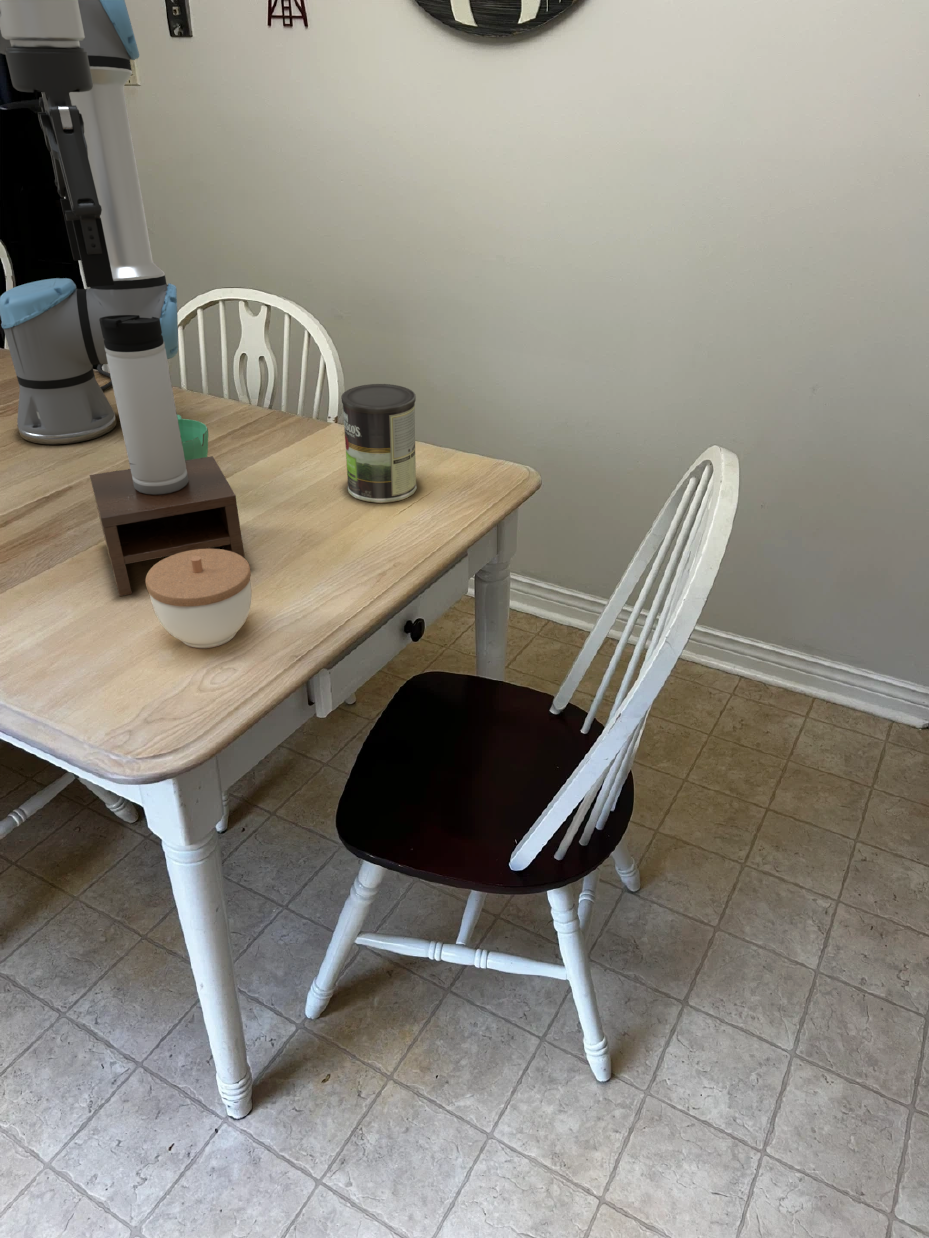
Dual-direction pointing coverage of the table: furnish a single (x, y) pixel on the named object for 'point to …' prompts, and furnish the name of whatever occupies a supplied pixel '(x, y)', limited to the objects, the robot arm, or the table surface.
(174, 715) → the table surface
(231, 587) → the trinket box
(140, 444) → the travel mug
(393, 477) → the coffee can
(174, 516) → the shelf
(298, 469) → the table surface
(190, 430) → the mug
